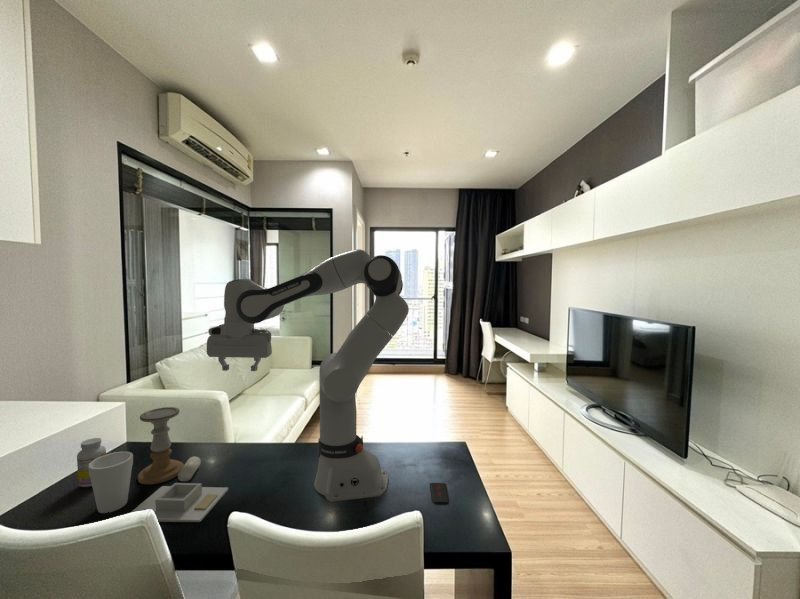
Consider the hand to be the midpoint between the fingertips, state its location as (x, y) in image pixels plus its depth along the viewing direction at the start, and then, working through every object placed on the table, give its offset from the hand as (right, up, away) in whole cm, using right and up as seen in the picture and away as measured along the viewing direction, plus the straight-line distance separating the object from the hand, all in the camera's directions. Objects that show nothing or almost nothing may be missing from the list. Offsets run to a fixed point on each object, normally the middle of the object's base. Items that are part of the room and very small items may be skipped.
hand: (239, 370), depth 113 cm
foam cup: (-27, -34, -17) cm, 47 cm away
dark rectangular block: (+64, -35, -14) cm, 74 cm away
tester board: (-9, -34, -17) cm, 39 cm away
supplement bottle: (-42, -33, -6) cm, 54 cm away
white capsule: (-14, -32, -6) cm, 35 cm away
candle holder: (-24, -33, -2) cm, 41 cm away
